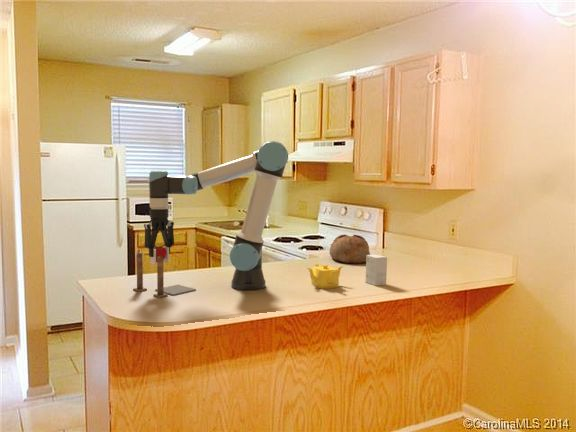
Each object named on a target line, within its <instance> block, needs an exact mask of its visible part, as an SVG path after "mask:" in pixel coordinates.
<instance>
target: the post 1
mask: <svg viewBox="0 0 576 432" xmlns="http://www.w3.org/2000/svg"><path fill="white" fill-rule="evenodd" d="M143 258H144V254H143V252H136V287H135V288H132V291H133V292H136V293H140V292H145V291H147V290H148V289H147V288H146V287H144V275H143V273H144V265H143V264H144V263H143V262H144V259H143Z"/></svg>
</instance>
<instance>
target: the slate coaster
mask: <svg viewBox="0 0 576 432" xmlns="http://www.w3.org/2000/svg"><path fill="white" fill-rule="evenodd" d="M154 291H155V292H157V288H155V289H154ZM195 291H197V289H196V288H193V287H188V286H185V285H181V284H174V285H170V286H165V287H164V293H165V294H168V295H169V296H178V295H182V294H186V293H190V292H195Z"/></svg>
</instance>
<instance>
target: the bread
mask: <svg viewBox="0 0 576 432" xmlns="http://www.w3.org/2000/svg"><path fill="white" fill-rule="evenodd" d="M329 255H330V257H331V258H332V260H335V261H336V262H341V263H344V264H364V263H366V255H371V253H370V245H369V243H368V241H367V240H366V238H364V237H363V236H361V235H358V234H353V235H347V234H341V235H340V234H339V235H338V236H336V237H335V238H334V239H333V242H332V243H331V245H330V247H329Z"/></svg>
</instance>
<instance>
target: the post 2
mask: <svg viewBox="0 0 576 432" xmlns="http://www.w3.org/2000/svg"><path fill="white" fill-rule="evenodd" d="M156 266H157V267H156V273H157V275H156V277H157V278H156V279H157V282H156V283H157V287H156V289H157V291H156V292H157V293H153V295H152V296H153V297H154V298H158V299H161V298H166V297H168V295H169V294H165V293H164V260H163V257H157V262H156Z"/></svg>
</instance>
